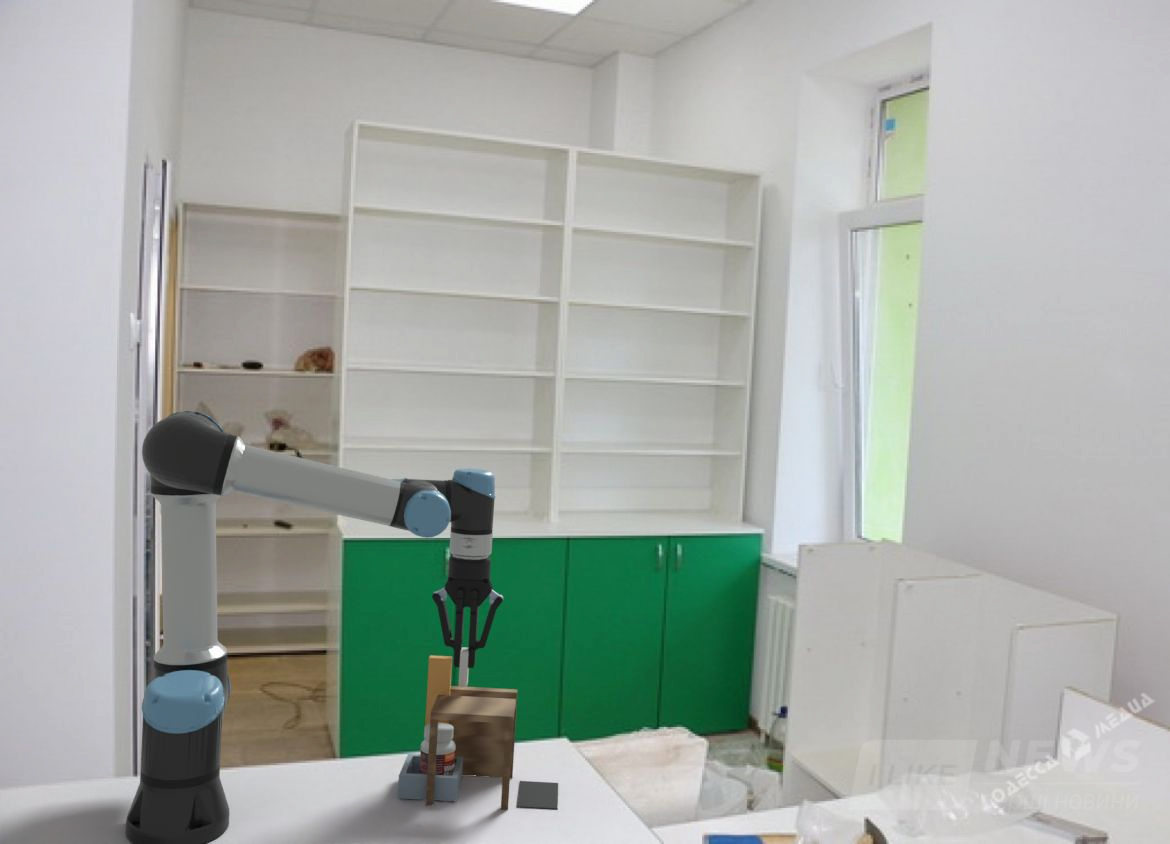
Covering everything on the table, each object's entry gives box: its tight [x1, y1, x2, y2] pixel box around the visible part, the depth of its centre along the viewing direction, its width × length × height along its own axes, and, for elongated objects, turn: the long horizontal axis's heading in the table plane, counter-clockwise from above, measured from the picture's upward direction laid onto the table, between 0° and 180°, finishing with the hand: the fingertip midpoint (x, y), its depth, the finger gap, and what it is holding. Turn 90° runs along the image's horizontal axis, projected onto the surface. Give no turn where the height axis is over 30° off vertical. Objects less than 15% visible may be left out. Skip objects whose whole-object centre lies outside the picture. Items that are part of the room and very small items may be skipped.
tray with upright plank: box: [397, 654, 463, 802], centre depth 182 cm, size 10×10×22 cm
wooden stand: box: [425, 685, 519, 811], centre depth 183 cm, size 14×15×16 cm
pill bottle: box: [419, 722, 456, 776], centre depth 182 cm, size 6×6×11 cm
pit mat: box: [516, 780, 559, 810], centre depth 183 cm, size 7×11×1 cm, turn 1°
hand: (463, 684), depth 186 cm, fingers closed
